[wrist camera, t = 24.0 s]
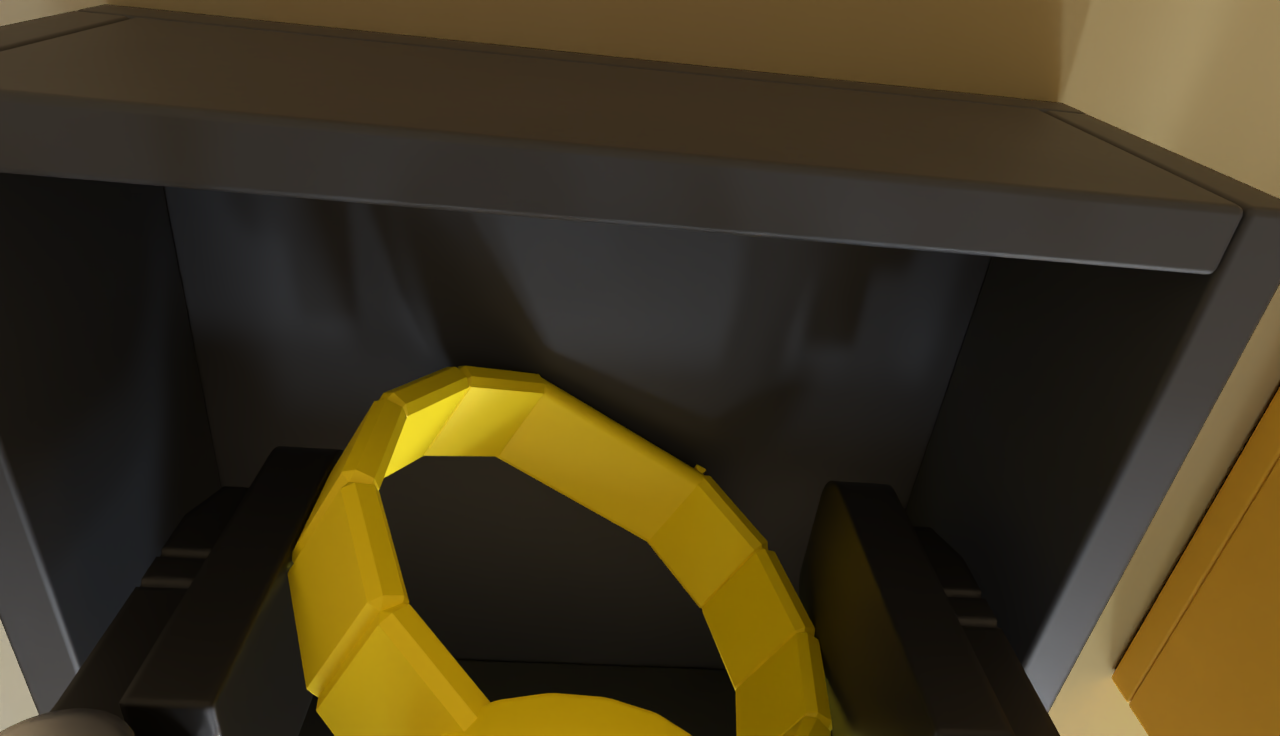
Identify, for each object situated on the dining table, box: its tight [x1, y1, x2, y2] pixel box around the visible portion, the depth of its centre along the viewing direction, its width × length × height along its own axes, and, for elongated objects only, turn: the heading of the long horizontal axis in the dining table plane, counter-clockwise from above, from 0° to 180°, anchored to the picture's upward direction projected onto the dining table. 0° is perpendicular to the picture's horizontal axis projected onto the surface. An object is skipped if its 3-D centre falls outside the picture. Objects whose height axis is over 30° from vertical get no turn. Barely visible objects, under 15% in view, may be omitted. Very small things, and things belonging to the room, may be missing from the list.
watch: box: [287, 366, 832, 736], centre depth 9 cm, size 6×3×6 cm, turn 56°
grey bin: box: [0, 5, 1280, 736], centre depth 10 cm, size 11×10×4 cm
